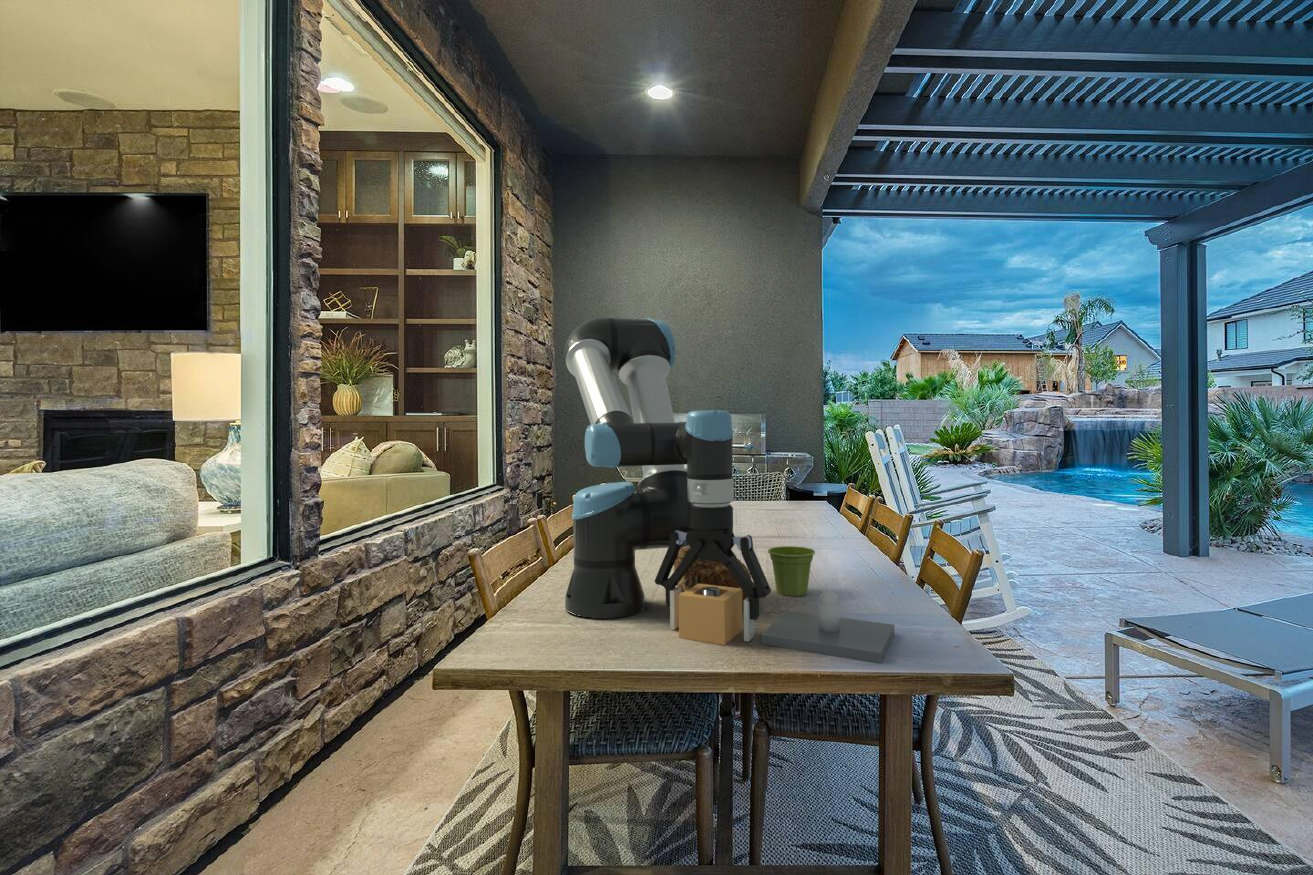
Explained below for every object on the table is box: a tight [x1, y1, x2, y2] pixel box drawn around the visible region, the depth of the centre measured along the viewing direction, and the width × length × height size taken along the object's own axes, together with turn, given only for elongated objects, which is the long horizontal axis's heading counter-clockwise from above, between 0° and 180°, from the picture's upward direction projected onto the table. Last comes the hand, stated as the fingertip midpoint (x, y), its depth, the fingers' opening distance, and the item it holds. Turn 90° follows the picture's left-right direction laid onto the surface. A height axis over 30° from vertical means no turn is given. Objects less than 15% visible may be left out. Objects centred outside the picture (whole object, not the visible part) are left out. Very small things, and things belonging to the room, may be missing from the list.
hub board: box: [760, 591, 895, 664], centre depth 102 cm, size 18×14×8 cm
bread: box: [673, 546, 752, 611], centre depth 126 cm, size 19×11×10 cm, turn 14°
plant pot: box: [767, 545, 816, 597], centre depth 130 cm, size 9×9×9 cm
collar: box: [678, 584, 743, 646], centre depth 106 cm, size 8×8×7 cm
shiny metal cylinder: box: [702, 587, 719, 597], centre depth 106 cm, size 3×3×8 cm
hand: (711, 632), depth 106 cm, fingers open, 12 cm apart
